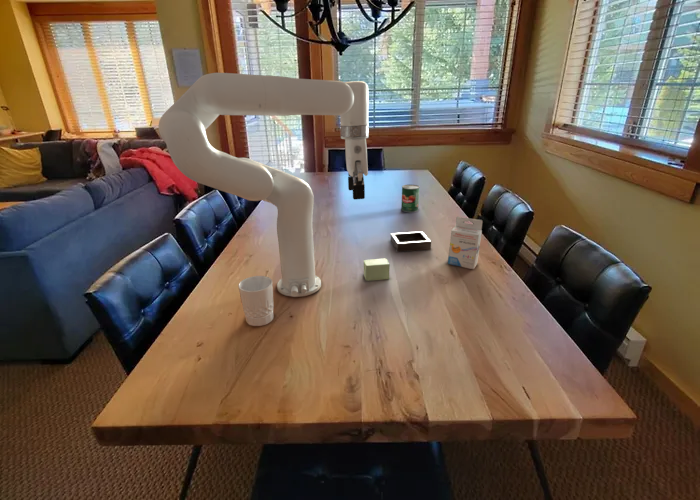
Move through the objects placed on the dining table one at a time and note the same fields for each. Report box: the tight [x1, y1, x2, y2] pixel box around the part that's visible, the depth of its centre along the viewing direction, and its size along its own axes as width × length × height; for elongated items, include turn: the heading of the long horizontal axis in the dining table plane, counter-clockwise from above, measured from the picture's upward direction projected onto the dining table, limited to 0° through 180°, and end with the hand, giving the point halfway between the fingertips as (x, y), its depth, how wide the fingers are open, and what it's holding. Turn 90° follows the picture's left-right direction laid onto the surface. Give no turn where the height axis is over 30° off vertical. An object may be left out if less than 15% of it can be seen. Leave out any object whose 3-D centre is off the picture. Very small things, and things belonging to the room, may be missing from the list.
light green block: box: [363, 258, 391, 282], centre depth 111 cm, size 4×7×5 cm, turn 98°
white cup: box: [238, 275, 275, 327], centre depth 91 cm, size 8×8×10 cm
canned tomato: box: [400, 184, 420, 213], centre depth 171 cm, size 8×8×11 cm
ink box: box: [447, 216, 484, 270], centre depth 117 cm, size 8×5×15 cm, turn 60°
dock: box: [390, 230, 432, 253], centre depth 134 cm, size 10×12×3 cm
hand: (356, 194), depth 107 cm, fingers open, 9 cm apart
